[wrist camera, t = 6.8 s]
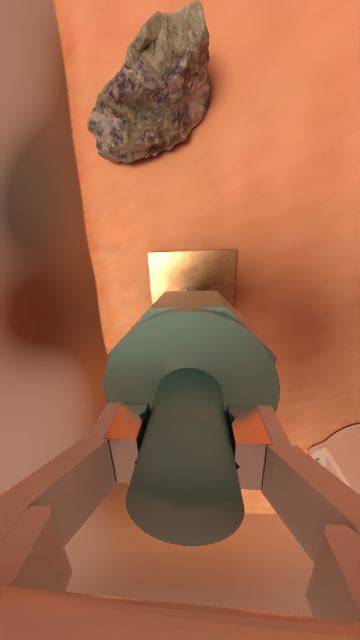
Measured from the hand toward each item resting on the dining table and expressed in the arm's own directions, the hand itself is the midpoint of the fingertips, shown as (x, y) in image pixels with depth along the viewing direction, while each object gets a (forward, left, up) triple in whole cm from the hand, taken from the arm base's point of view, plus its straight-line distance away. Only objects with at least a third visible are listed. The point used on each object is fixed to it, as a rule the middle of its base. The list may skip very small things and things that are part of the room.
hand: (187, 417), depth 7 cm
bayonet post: (0, 0, -25) cm, 25 cm away
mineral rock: (+22, +4, -25) cm, 33 cm away
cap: (0, 0, -6) cm, 6 cm away
